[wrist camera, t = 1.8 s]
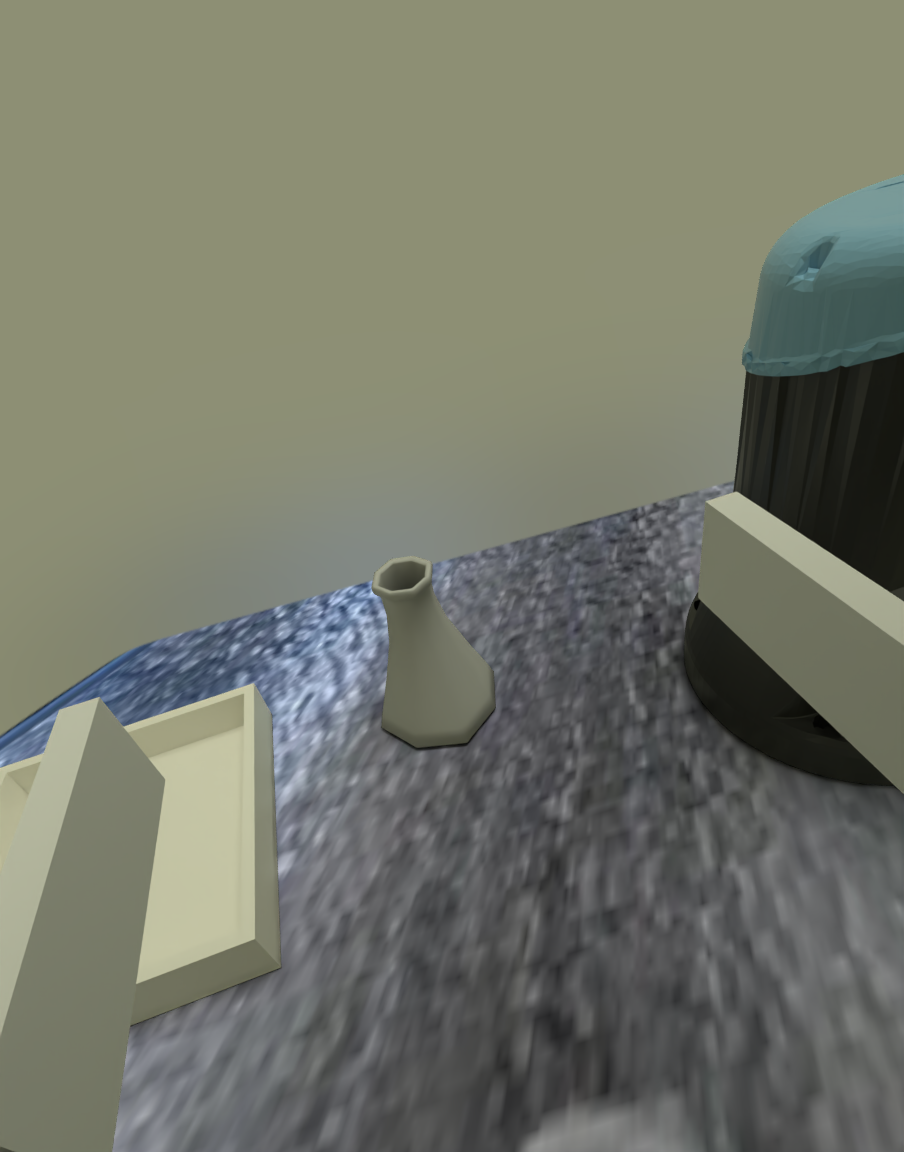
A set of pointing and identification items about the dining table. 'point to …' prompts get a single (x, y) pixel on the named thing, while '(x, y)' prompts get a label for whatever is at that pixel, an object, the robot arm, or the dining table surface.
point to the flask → (428, 662)
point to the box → (199, 849)
